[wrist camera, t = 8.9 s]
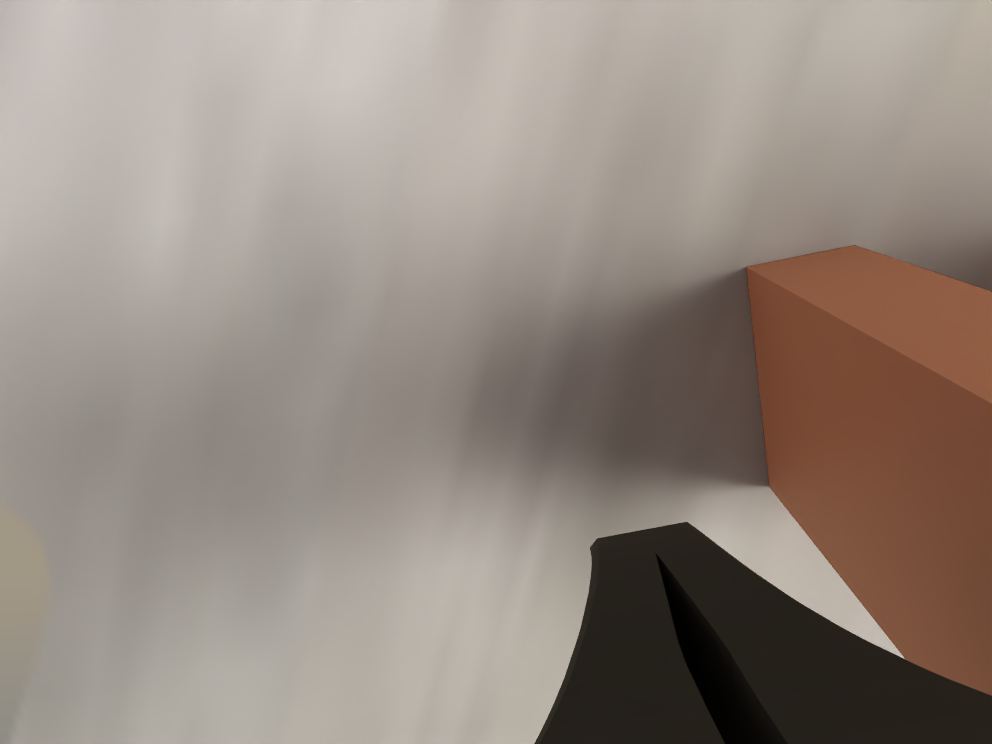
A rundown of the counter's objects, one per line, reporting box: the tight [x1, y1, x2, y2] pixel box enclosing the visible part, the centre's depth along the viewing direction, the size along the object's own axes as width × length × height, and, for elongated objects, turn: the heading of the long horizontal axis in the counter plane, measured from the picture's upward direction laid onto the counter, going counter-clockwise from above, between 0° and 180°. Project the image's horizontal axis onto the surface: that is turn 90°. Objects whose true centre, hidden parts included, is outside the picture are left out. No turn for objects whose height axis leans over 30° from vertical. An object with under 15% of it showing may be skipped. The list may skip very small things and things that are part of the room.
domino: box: [746, 245, 992, 696], centre depth 13 cm, size 2×5×9 cm, turn 11°
